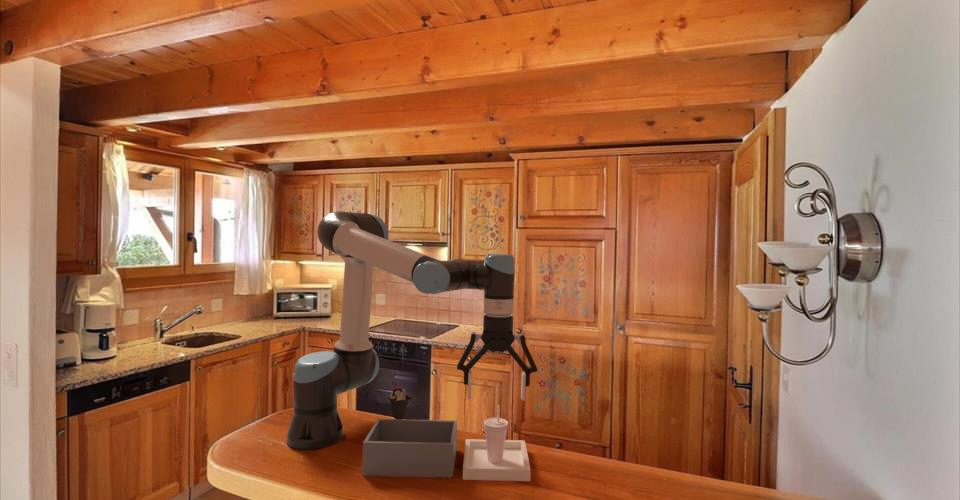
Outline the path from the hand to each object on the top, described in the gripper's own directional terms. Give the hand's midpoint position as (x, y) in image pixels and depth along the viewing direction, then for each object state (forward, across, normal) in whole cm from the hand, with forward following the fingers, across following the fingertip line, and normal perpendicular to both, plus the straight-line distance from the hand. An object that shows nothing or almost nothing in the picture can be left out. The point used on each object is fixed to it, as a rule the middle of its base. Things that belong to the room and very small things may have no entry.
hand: (496, 398), depth 115 cm
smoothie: (+16, 0, 0) cm, 16 cm away
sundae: (+17, -28, +18) cm, 38 cm away
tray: (+17, 0, 0) cm, 17 cm away
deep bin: (+17, -21, 0) cm, 27 cm away
